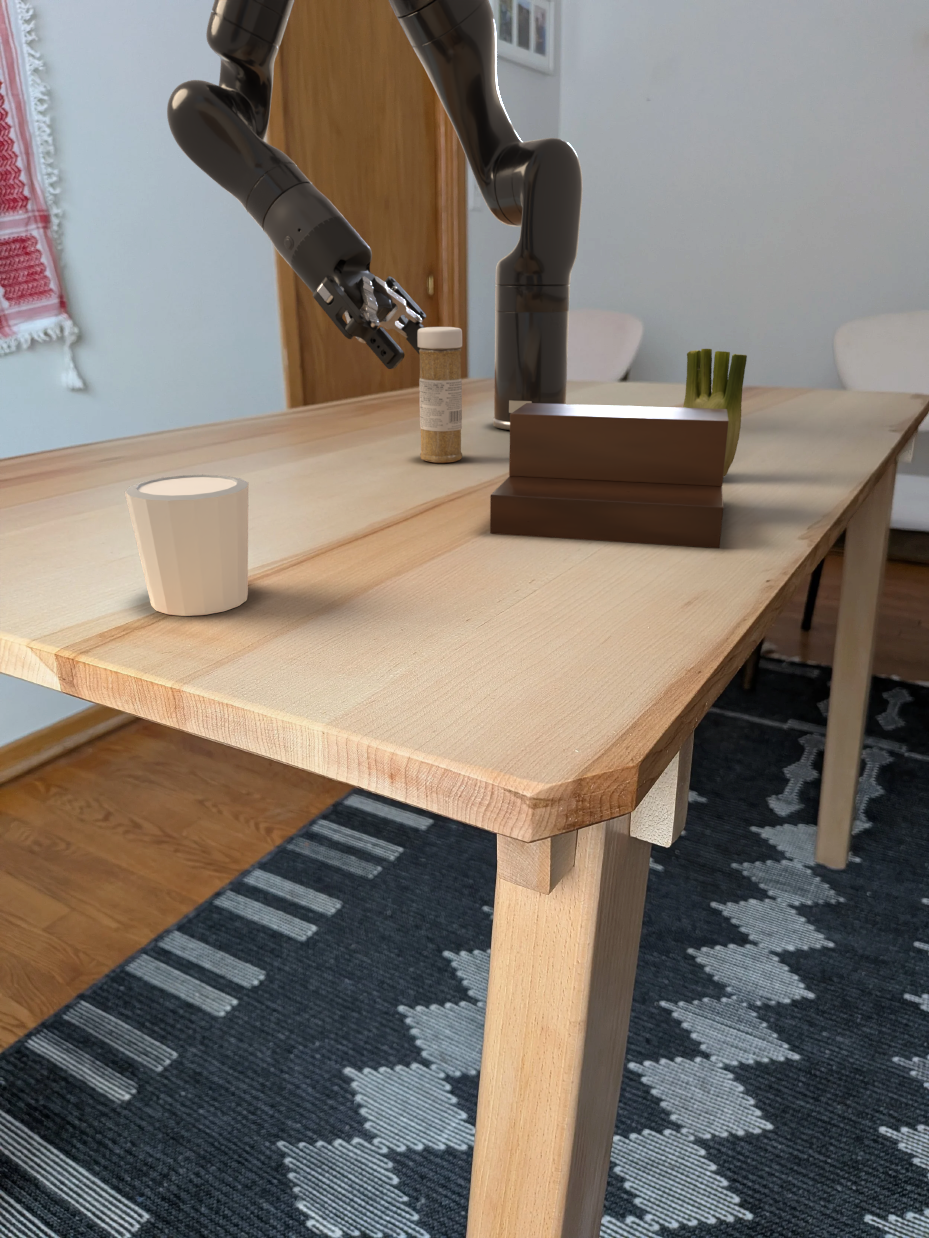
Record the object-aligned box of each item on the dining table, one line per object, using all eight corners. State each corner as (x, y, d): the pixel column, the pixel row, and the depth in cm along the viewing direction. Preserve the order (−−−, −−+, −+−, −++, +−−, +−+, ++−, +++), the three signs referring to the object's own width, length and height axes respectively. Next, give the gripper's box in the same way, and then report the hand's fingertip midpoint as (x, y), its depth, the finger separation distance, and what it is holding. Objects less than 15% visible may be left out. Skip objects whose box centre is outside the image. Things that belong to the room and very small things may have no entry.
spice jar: (444, 454, 100) (443, 326, 95) (471, 460, 97) (471, 327, 92) (411, 459, 97) (408, 327, 93) (437, 465, 94) (435, 329, 89)
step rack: (524, 494, 82) (526, 402, 79) (717, 504, 78) (726, 409, 75) (489, 533, 69) (490, 426, 66) (719, 548, 65) (730, 435, 62)
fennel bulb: (741, 481, 86) (755, 350, 82) (697, 485, 85) (709, 351, 81) (705, 470, 91) (717, 346, 87) (663, 474, 90) (673, 347, 86)
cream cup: (163, 581, 58) (149, 472, 56) (270, 582, 58) (261, 473, 55) (121, 619, 52) (104, 497, 49) (242, 620, 51) (230, 498, 49)
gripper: (298, 209, 87) (408, 337, 86) (372, 218, 99) (469, 330, 99) (257, 269, 91) (361, 392, 90) (333, 270, 103) (426, 379, 103)
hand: (417, 360), depth 94 cm, fingers open, 8 cm apart
